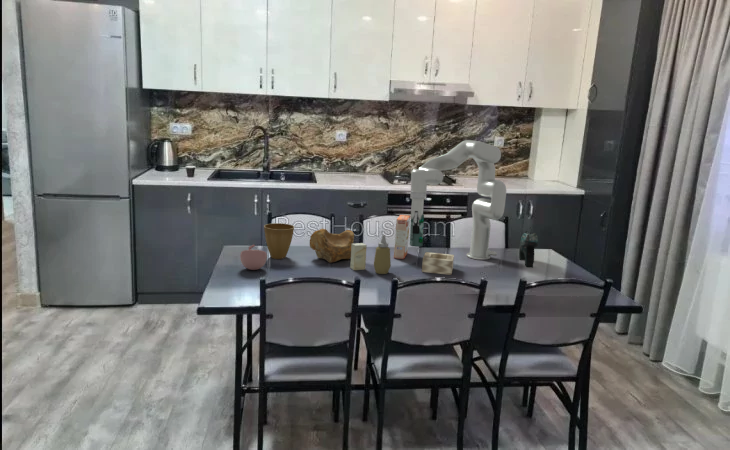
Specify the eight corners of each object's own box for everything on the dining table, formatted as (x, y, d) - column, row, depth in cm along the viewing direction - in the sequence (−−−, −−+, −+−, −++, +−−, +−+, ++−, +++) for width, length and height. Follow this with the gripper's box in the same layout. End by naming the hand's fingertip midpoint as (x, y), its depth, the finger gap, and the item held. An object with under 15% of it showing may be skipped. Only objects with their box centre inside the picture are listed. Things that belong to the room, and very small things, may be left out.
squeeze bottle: (384, 276, 252) (387, 238, 248) (369, 272, 256) (371, 235, 252) (393, 272, 259) (395, 235, 255) (378, 269, 263) (380, 232, 259)
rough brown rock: (314, 267, 264) (317, 237, 260) (306, 255, 279) (309, 227, 275) (360, 266, 272) (363, 237, 268) (349, 254, 287) (352, 227, 283)
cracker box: (404, 259, 282) (407, 219, 277) (393, 258, 283) (395, 218, 279) (408, 253, 295) (410, 215, 291) (397, 252, 296) (399, 214, 292)
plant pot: (270, 262, 265) (270, 230, 261) (259, 254, 277) (259, 224, 274) (298, 259, 272) (299, 228, 269) (286, 252, 285) (287, 222, 281)
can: (423, 246, 264) (424, 216, 261) (410, 246, 264) (412, 216, 260) (421, 243, 270) (422, 213, 267) (408, 243, 269) (410, 213, 266)
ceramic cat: (535, 268, 277) (540, 230, 273) (523, 268, 277) (527, 229, 273) (526, 258, 296) (530, 222, 292) (514, 257, 297) (518, 221, 292)
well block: (452, 268, 270) (454, 254, 269) (451, 274, 259) (452, 261, 258) (424, 265, 273) (425, 252, 272) (421, 271, 262) (422, 258, 260)
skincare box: (353, 270, 258) (355, 245, 256) (349, 268, 262) (350, 243, 260) (365, 269, 261) (367, 244, 259) (361, 266, 265) (362, 242, 262)
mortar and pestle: (266, 265, 259) (267, 242, 257) (266, 273, 248) (267, 248, 245) (240, 265, 257) (240, 242, 255) (239, 273, 246) (239, 248, 243)
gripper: (412, 192, 270) (411, 227, 274) (408, 198, 254) (406, 235, 258) (428, 193, 269) (426, 228, 273) (424, 198, 252) (422, 236, 256)
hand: (416, 231), depth 265 cm, fingers closed on can, 6 cm apart
